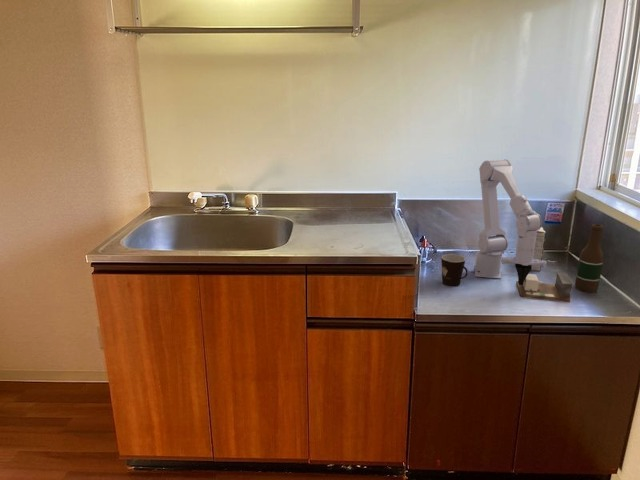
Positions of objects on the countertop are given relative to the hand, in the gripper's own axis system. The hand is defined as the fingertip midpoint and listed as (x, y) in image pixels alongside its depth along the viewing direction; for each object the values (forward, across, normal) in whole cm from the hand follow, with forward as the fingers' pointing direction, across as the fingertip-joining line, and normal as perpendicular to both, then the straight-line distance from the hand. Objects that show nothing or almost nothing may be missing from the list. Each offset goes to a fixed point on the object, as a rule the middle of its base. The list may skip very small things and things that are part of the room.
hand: (520, 284), depth 174 cm
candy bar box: (+3, +8, +28) cm, 29 cm away
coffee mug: (+3, -23, 0) cm, 24 cm away
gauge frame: (+3, +8, +1) cm, 8 cm away
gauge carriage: (+1, +4, 0) cm, 5 cm away
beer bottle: (+3, +24, +9) cm, 25 cm away
